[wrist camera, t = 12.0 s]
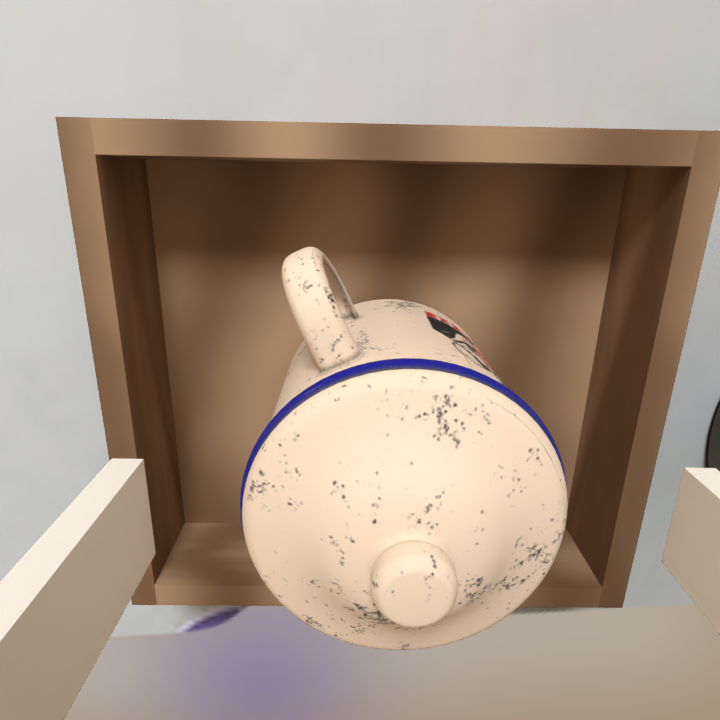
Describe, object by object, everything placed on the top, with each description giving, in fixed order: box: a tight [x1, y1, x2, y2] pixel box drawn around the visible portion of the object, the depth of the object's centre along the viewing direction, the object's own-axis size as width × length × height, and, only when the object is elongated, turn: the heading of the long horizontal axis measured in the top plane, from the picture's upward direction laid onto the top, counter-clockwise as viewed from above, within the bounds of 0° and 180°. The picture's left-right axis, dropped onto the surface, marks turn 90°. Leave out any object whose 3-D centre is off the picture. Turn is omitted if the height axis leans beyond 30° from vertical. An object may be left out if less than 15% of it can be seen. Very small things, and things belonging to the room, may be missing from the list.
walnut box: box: [56, 117, 720, 608], centre depth 21 cm, size 20×18×5 cm
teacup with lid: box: [240, 247, 568, 650], centre depth 17 cm, size 12×9×12 cm
